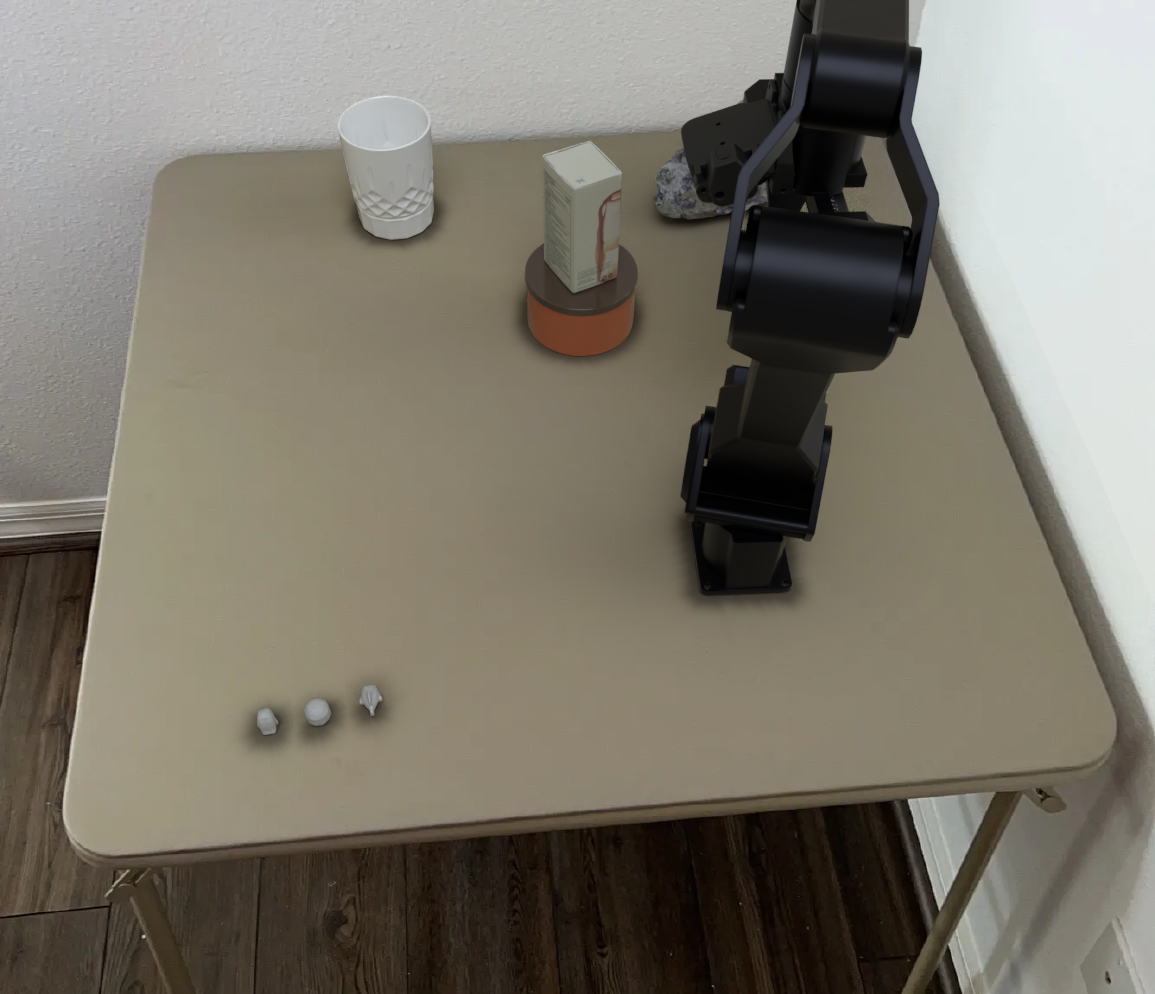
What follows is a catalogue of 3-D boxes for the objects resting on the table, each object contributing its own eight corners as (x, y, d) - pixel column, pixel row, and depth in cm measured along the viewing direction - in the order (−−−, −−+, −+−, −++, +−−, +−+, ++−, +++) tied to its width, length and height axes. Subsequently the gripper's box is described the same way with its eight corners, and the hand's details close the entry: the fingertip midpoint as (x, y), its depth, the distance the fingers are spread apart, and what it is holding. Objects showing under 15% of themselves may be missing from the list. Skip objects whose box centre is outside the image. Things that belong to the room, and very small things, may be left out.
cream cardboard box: (619, 278, 91) (625, 175, 83) (572, 296, 90) (573, 192, 82) (588, 241, 94) (591, 137, 86) (541, 257, 93) (540, 154, 85)
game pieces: (381, 688, 75) (377, 674, 73) (385, 717, 73) (381, 703, 72) (258, 711, 73) (251, 697, 72) (259, 740, 72) (253, 727, 71)
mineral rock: (652, 231, 103) (660, 137, 95) (647, 159, 109) (654, 64, 101) (793, 233, 103) (813, 138, 95) (780, 160, 110) (798, 66, 102)
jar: (639, 355, 93) (643, 308, 89) (527, 359, 93) (526, 311, 89) (629, 280, 99) (632, 232, 95) (524, 283, 99) (523, 235, 94)
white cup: (339, 234, 102) (321, 139, 94) (374, 182, 107) (359, 88, 99) (421, 252, 101) (409, 158, 93) (452, 199, 105) (444, 104, 97)
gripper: (680, -1, 73) (662, 196, 86) (718, 180, 62) (691, 376, 74) (849, -4, 74) (807, 192, 86) (918, 175, 62) (858, 371, 75)
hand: (788, 276), depth 80 cm, fingers open, 9 cm apart
